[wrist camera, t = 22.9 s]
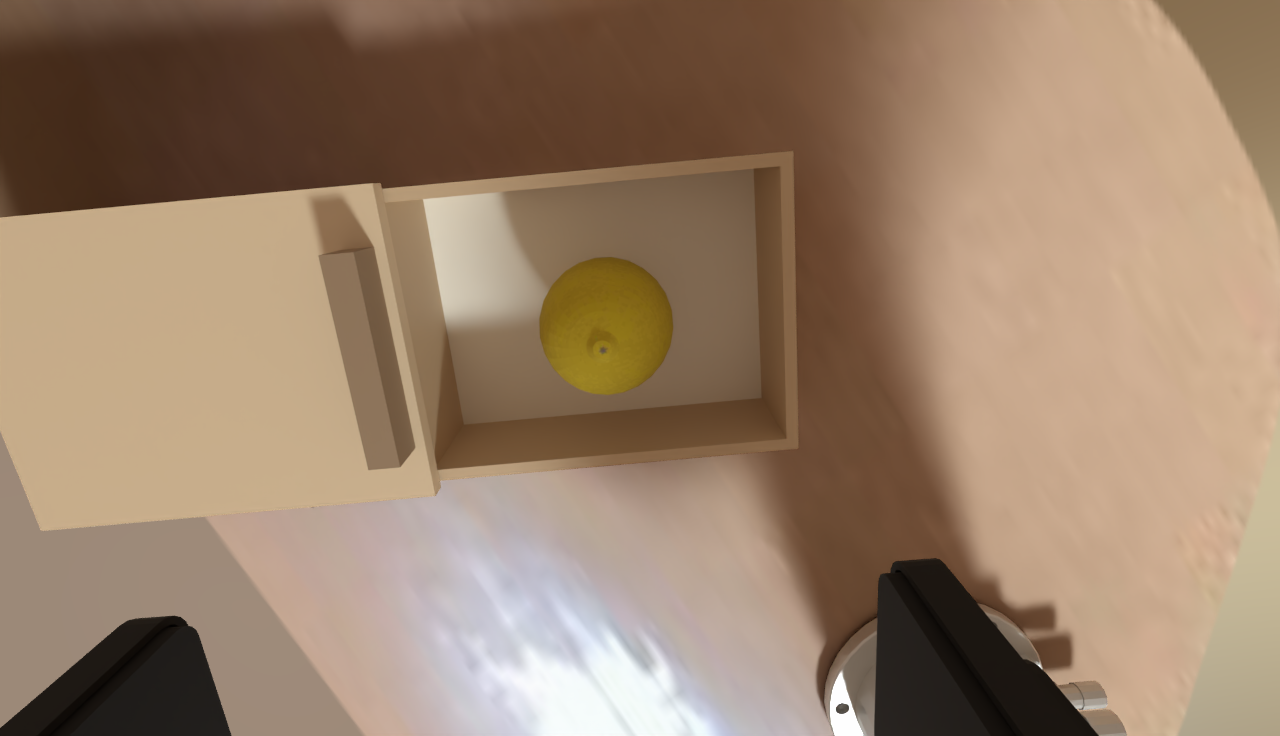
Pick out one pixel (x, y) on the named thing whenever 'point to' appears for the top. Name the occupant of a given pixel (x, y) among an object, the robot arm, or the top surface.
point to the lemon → (606, 325)
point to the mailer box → (582, 230)
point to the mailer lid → (209, 359)
